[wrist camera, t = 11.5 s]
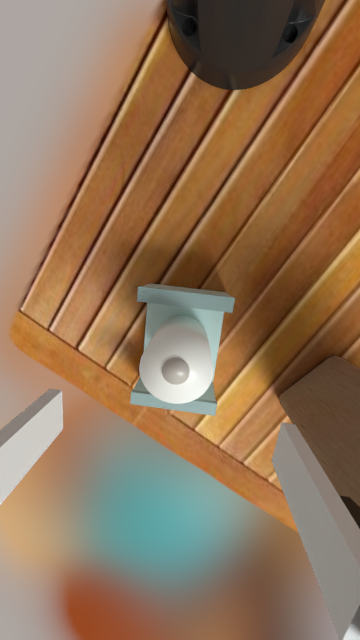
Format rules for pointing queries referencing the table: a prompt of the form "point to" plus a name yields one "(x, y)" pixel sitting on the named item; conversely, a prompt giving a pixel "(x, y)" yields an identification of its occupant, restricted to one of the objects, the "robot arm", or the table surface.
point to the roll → (177, 361)
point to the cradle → (193, 304)
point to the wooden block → (330, 420)
